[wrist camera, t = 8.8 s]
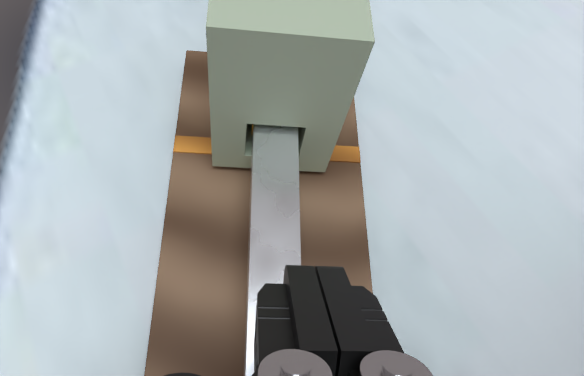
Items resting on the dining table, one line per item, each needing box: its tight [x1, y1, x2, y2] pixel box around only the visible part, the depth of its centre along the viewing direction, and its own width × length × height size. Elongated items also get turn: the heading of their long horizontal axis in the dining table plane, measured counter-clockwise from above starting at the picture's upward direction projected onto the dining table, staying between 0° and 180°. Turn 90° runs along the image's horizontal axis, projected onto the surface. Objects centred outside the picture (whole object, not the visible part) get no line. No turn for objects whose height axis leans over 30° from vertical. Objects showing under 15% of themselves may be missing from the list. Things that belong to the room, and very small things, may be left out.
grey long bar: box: [244, 124, 301, 376], centre depth 24 cm, size 23×2×2 cm, turn 1°
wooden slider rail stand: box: [144, 50, 373, 376], centre depth 25 cm, size 28×12×8 cm, turn 1°
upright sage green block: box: [206, 0, 375, 172], centre depth 25 cm, size 5×7×11 cm
